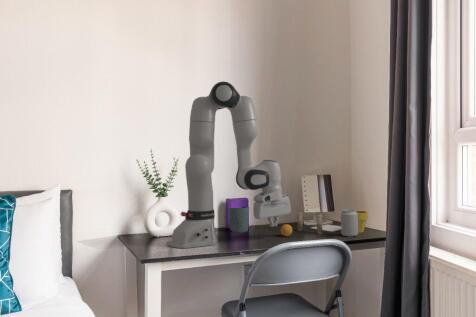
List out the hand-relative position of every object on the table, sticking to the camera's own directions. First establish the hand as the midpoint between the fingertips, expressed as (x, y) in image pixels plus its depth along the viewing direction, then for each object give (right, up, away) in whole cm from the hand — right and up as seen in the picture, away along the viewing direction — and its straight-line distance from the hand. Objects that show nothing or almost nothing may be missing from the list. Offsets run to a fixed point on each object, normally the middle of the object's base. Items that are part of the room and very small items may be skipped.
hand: (273, 226), depth 211 cm
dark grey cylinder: (-15, -6, +23) cm, 28 cm away
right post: (+23, -5, +12) cm, 26 cm away
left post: (+15, -5, +21) cm, 26 cm away
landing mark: (+30, -5, +26) cm, 40 cm away
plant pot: (+41, -5, +15) cm, 44 cm away
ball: (+6, -3, +6) cm, 9 cm away
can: (+35, -5, +5) cm, 36 cm away
